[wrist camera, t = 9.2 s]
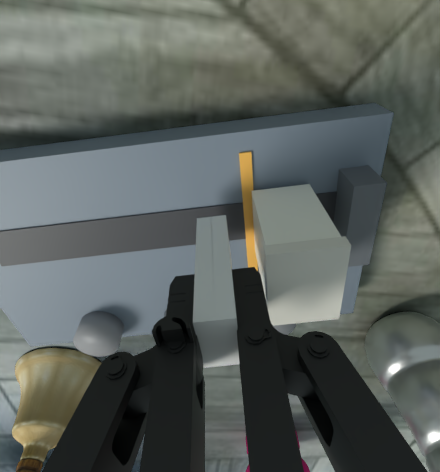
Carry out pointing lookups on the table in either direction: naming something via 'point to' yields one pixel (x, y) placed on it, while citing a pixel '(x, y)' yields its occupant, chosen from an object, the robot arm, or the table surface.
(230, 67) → the table surface
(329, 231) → the fader tab
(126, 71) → the table surface
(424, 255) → the table surface
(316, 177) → the console board
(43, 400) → the hand bell
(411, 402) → the plastic bottle
